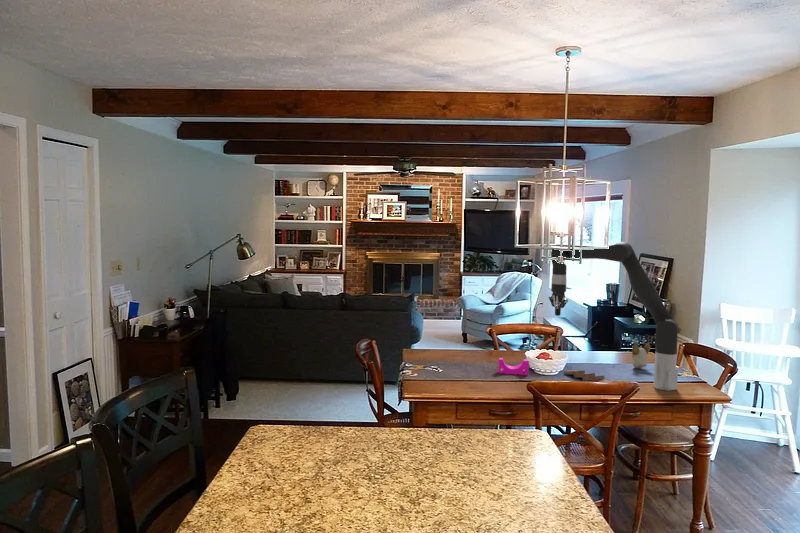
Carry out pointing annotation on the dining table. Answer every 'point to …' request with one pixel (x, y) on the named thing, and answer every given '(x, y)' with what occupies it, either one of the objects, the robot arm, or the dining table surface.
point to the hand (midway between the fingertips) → (557, 315)
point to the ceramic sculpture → (640, 355)
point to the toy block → (514, 367)
